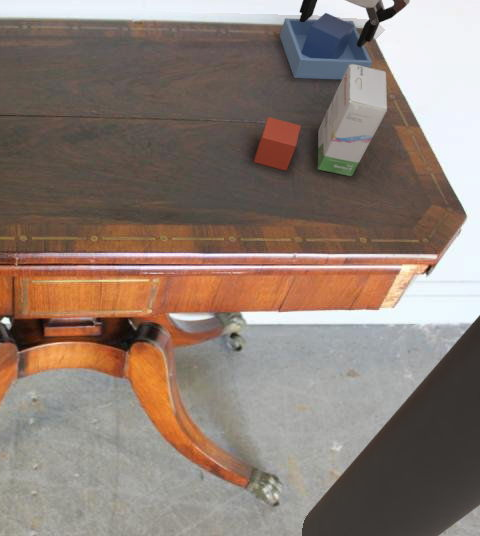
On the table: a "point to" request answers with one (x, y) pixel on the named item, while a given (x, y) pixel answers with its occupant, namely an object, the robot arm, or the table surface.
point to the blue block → (327, 38)
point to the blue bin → (317, 67)
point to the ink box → (352, 119)
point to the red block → (277, 143)
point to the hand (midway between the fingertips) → (333, 30)
